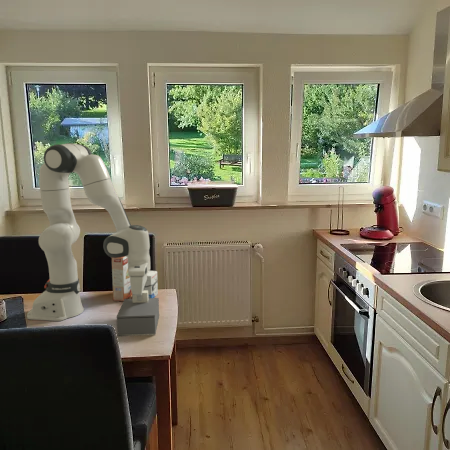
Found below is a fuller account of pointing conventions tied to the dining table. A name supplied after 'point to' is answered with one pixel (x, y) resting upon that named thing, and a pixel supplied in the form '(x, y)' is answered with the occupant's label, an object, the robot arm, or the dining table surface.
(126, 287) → the cracker box
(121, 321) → the base
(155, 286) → the ink box
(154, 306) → the lid
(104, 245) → the robot arm
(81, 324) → the dining table surface
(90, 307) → the dining table surface
